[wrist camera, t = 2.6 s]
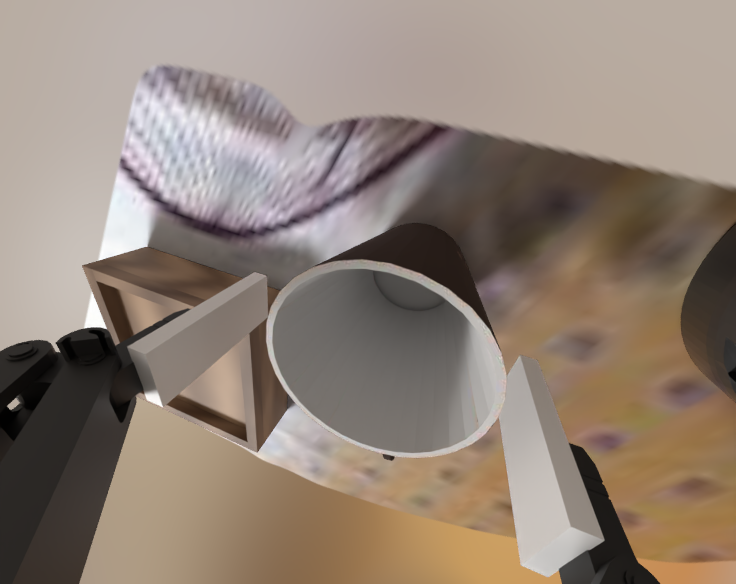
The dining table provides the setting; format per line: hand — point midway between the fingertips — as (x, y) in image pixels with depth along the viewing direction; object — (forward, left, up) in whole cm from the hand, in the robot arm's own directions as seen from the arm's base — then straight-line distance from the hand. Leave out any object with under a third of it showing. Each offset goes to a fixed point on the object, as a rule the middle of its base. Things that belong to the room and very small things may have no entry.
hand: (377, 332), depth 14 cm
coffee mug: (0, 0, -6) cm, 6 cm away
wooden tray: (+16, +11, -6) cm, 20 cm away
